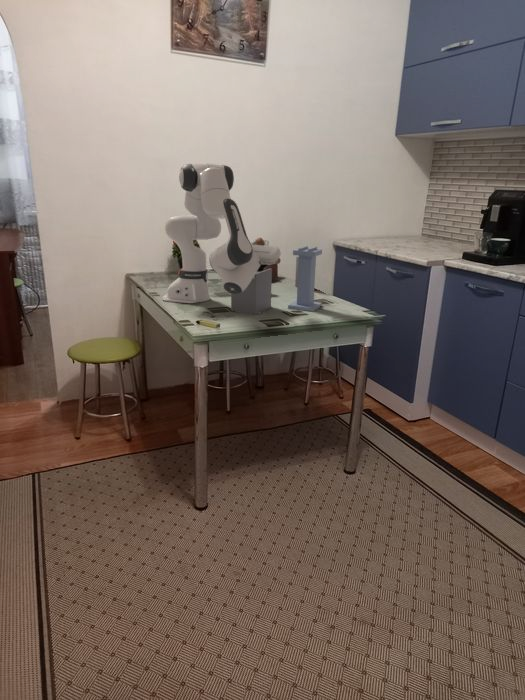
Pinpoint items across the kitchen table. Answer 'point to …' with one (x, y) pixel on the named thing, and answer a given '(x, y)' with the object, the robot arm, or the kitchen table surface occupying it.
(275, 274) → the letter holder
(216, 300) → the kitchen table surface
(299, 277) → the shelf post
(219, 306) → the kitchen table surface
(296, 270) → the flask
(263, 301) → the tray stand
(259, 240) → the dowel
